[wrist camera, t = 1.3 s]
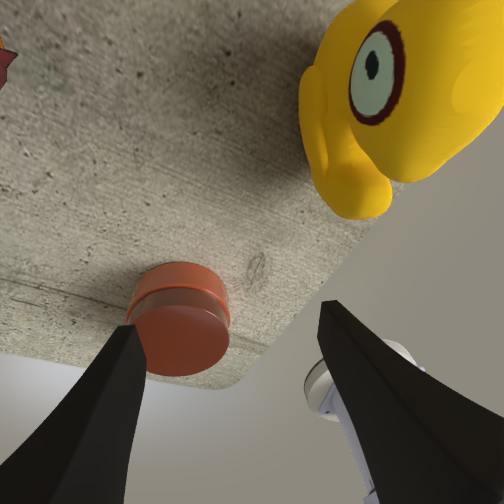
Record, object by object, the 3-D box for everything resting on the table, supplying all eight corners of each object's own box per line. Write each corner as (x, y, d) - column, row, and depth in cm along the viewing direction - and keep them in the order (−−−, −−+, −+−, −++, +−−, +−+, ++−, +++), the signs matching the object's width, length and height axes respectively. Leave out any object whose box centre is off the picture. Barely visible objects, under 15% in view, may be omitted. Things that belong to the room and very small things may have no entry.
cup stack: (235, 267, 22) (242, 306, 19) (219, 334, 26) (222, 379, 22) (134, 256, 20) (119, 297, 17) (131, 330, 24) (119, 378, 20)
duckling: (296, -50, 13) (454, -240, 5) (406, -45, 14) (707, -208, 6) (283, 190, 19) (345, 282, 11) (360, 185, 20) (474, 270, 12)
